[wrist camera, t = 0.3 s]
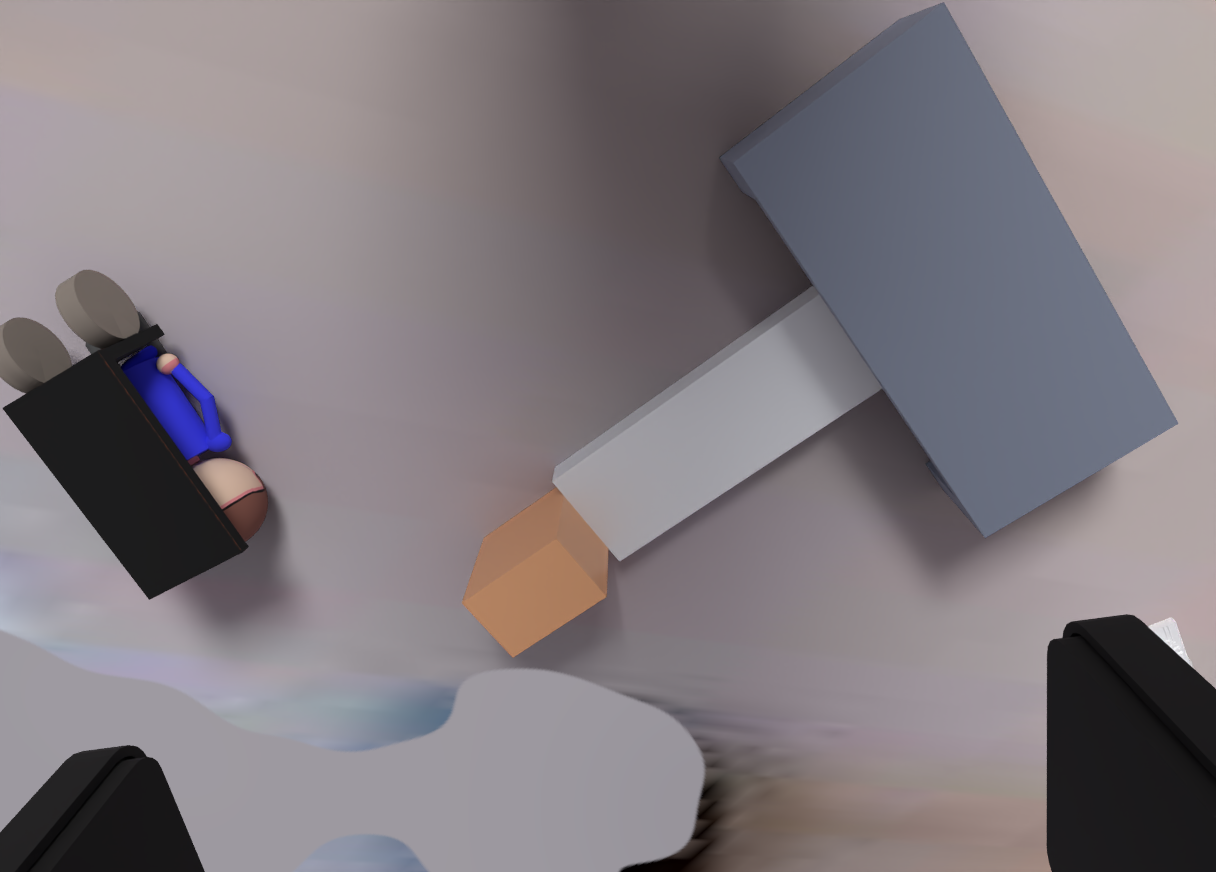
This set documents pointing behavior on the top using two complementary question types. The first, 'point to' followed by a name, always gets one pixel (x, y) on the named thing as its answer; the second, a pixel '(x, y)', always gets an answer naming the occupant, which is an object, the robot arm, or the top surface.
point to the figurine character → (130, 437)
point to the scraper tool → (665, 468)
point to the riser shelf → (953, 271)
